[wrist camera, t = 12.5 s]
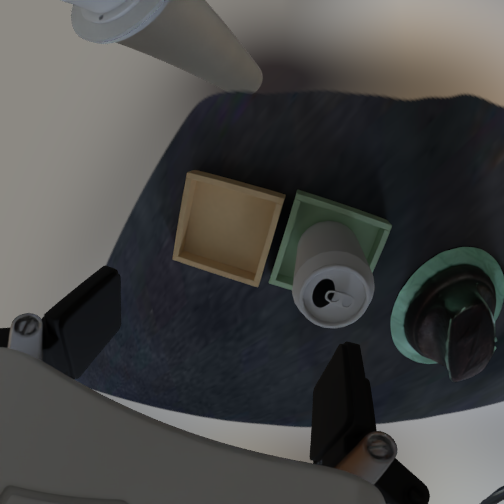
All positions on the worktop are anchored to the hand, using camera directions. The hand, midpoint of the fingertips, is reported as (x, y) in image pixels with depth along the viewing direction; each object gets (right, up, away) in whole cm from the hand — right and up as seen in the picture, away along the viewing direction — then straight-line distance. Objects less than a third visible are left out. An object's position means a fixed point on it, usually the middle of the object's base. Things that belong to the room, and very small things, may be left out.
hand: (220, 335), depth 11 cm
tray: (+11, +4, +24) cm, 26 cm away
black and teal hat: (+30, -5, +24) cm, 39 cm away
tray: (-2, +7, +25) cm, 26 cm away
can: (+10, +4, +24) cm, 26 cm away
